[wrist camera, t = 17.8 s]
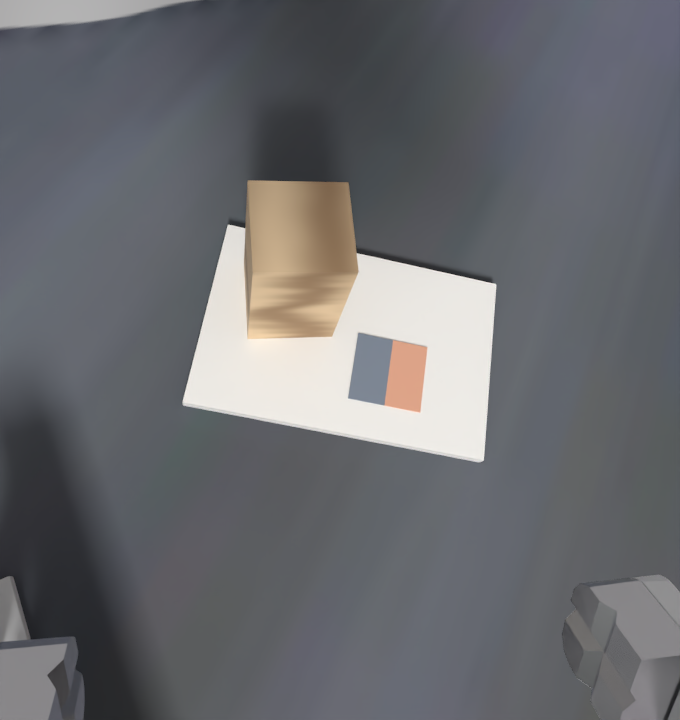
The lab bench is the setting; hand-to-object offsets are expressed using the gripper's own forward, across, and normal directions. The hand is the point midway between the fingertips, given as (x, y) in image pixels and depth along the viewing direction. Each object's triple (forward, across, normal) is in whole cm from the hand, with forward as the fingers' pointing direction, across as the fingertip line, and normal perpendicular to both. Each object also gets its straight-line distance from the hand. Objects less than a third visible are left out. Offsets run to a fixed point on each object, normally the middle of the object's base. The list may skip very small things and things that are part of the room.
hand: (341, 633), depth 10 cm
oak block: (+36, -3, +7) cm, 37 cm away
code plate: (+34, -7, +10) cm, 37 cm away
